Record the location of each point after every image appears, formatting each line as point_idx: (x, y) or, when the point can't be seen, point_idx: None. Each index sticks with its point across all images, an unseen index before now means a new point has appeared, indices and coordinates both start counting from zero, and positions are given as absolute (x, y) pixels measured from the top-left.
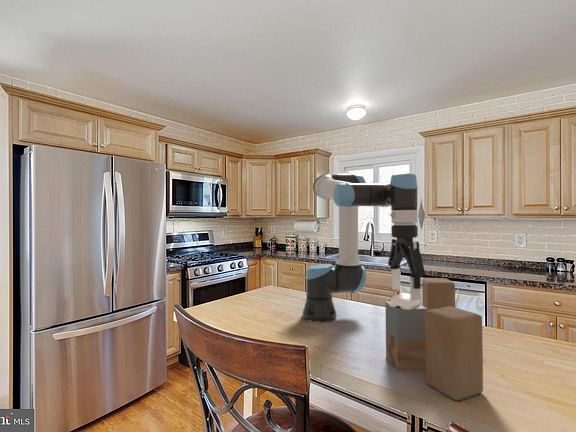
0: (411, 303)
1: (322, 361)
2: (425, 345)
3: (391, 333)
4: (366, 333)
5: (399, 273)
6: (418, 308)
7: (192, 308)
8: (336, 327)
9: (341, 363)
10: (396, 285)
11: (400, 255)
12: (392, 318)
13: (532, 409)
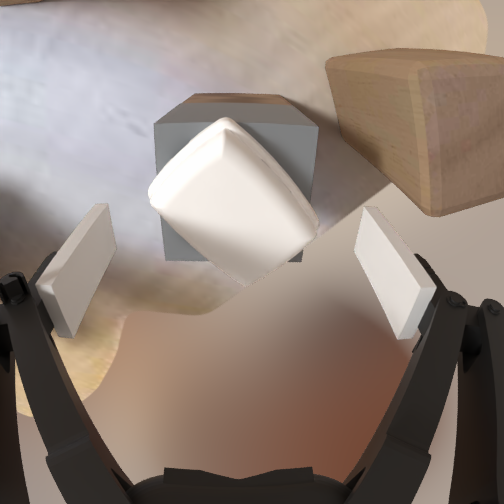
0: (299, 204)
1: (205, 304)
2: (377, 168)
3: None
4: (35, 174)
5: (67, 268)
6: (310, 167)
7: (21, 413)
8: (13, 239)
9: (217, 275)
10: (104, 238)
11: (99, 444)
12: None
13: (451, 18)
